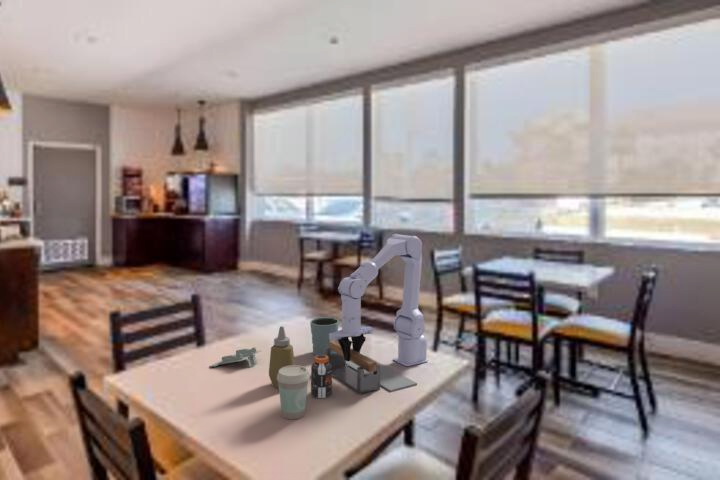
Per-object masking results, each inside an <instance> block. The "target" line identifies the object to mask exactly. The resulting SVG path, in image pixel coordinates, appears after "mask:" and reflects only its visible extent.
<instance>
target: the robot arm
mask: <svg viewBox="0 0 720 480" xmlns="http://www.w3.org/2000/svg"><path fill="white" fill-rule="evenodd" d="M422 249H423V242H422V240H421V239H420V238H419V237H418V236H416V235H405V234H399V233H393V234H392V235H391V236H390V237H389V238H388V239H387V240H386V244H385V245H384V246H383V247H382V248H381V249H380V251H379V252H378V253H377V254H376V255H375V256H374V257H373V258H372V259H371V261H365V262H363V261H362V262H361V263H360V266H359V267H358V268H357V269H356V270H355V271H354V272H352V273H351V274H350V276H349V277H343V279H341V280H340V282H339V286H338V287H337V290H338V293H339V294H340V299H341V316H342V317H341V329H338V331H337V332H334V333H329V340H331V341H335V340H338V342H339V344H340V346H341V348H342V351H343V355H344V360H346V361H350V348H351V349H353V350H355V351H357V352H359V353H361V350H362V347H363V345H364V343H365V342H366V339H367V338H366V336H365V335H368V334H369V335H372V334H373V333H374V332H373V330H374V329H373V327H372V326H361V325H362V323H361V322H362V321H361V319H362V313H361V312H362V310H361V309H362V306H361V305H362V303H361V302H362V300H361V299H362V298H361V297H363V296H364V294H365V292H366V289H367V286H368V285H369V284H370V283H371V282H372V281H373V280H374V279H376V277H377V276H378V275H379V270H380V269H381V268H382V267H383V266H384V265H385V264H387V263H388V262H389V261H390V260H391V259H392V258H394V257H395V256H400V258H401V259H402V260H403V261H404V262H405V265H404V267H405V268H404V277H403V279H404V280H403V291H402V303H401V308H400V309H398V310H397V311H396V316H395V318H394V321H393V329H394V330H395V331H396V335H397V336H398V338H397V339H398V342H397V344H398V345H397V346H398V347H397V349H398V350H397V357H393V358H392V361H394V362H397V363H399V364H400V365H402V366H405V367H411V366H414V365H419V364H424V363H428V361H429V360H428V359H427V343H428V342H427V340H426V337H425V335H423V334H424V333H425V329H426V326H425V319H424V318H425V317H424V314H423V313H422V312H421V311H420V309H419V301H420V289H421V277H422V265H423V255H422V253H423V252H422V251H423V250H422Z"/></svg>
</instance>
